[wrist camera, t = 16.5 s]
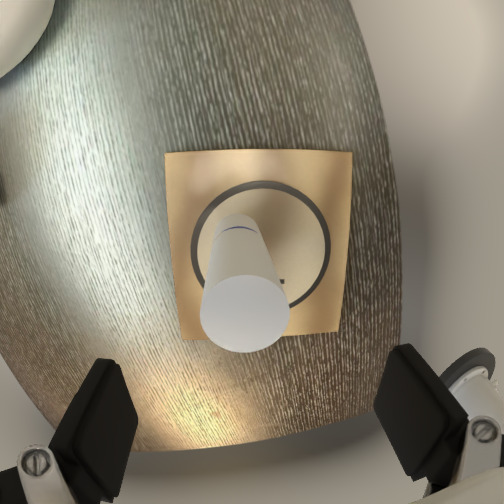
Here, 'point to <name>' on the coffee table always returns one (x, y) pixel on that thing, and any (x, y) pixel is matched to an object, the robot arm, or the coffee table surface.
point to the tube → (242, 289)
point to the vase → (21, 29)
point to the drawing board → (264, 225)
